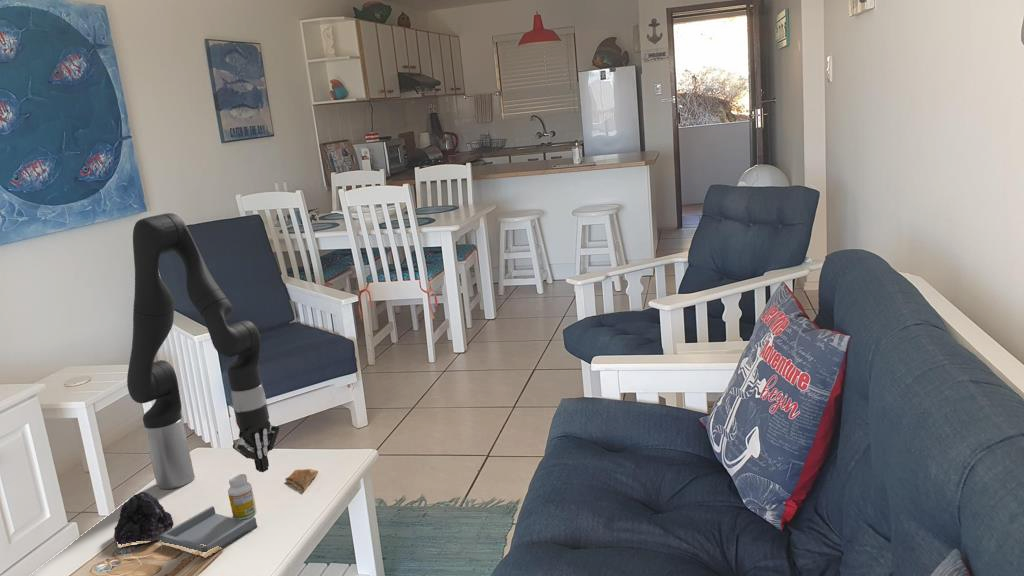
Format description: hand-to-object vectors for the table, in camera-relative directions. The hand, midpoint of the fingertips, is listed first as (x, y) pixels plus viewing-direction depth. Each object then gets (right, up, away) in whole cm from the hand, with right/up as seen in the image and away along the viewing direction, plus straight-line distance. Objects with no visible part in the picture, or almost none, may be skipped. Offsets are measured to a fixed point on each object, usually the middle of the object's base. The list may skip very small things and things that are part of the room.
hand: (263, 470), depth 193 cm
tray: (-8, -12, -12) cm, 19 cm away
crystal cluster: (-25, -13, -8) cm, 30 cm away
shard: (+8, -6, +11) cm, 15 cm away
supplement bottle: (-3, -10, -4) cm, 11 cm away
